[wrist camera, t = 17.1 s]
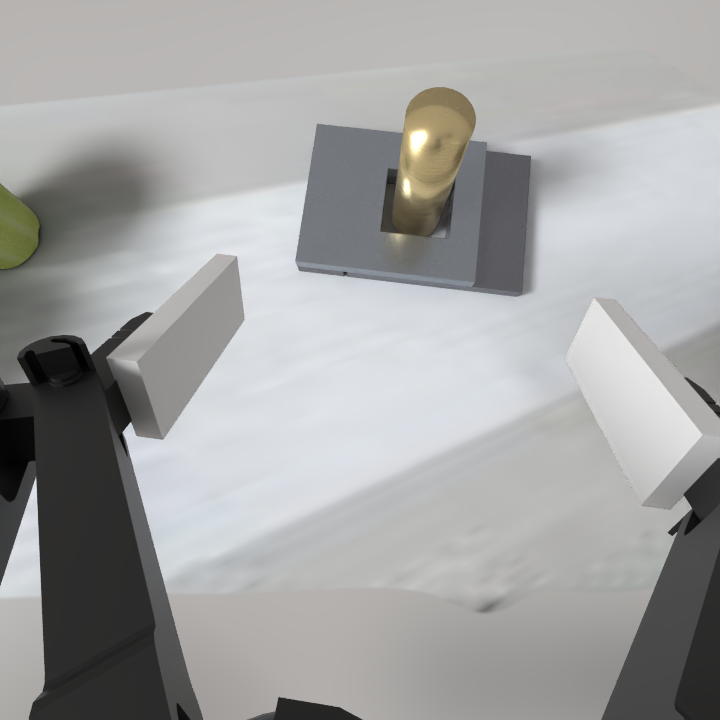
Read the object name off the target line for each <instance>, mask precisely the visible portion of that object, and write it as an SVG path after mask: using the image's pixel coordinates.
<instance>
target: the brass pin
mask: <svg viewBox="0 0 720 720" xmlns="http://www.w3.org/2000/svg"><path fill="white" fill-rule="evenodd" d="M475 123H476V116H475V111H474V108H473V106H472V104H471V103H470V102H469V100H468V99H467V98H466V97H465V96H464V95H462V94H461V93H459V92H457V91H455V90H453V89H449V88H444V87H436V88H430V89H427V90H425V91H422V92H421V93H419V94H418V95H416V96H415V97H414V98H413V99H412V101H411V102H410V103H409V105H408V108H407V110H406V116H405V123H404V130H403V137H402V144H401V152H400V159H399V166H398V173H397V181H396V188H395V195H394V202H393V209H392V222H393V225H394V227H395V228H396V230H397V231H398V232H399V233H400V234H406V235H414V236H423V237H426V236H428V235H430V234H431V233H432V232H433V231H434V230H435V229H436V227H437V225H438V222H439V220H440V217H441V214H442V212H443V209H444V207H445V204H446V201H447V199H448V196H449V194H450V191H451V188H452V186H453V183H454V180H455V178H456V175H457V173H458V170H459V167H460V165H461V162H462V159H463V157H464V154H465V152H466V149H467V146H468V144H469V141H470V139H471V136H472V133H473V131H474V128H475Z"/></svg>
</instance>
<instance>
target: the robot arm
mask: <svg viewBox="0 0 720 720" xmlns="http://www.w3.org/2000/svg"><path fill="white" fill-rule="evenodd" d="M244 320H245V319H244V311H243V302H242V294H241V286H240V277H239V269H238V260H237V256H231V255H222V254H216V255H215V256H214V257H213V258H212V259H211V260H210V261H209V262H208V263H207V264H206V265H205V266H204V267H203V268H201V269H200V270H199V271H198V272H197V273H196V274H195V275H194V276H193V277H192V278H191V279H190V280H189V281H188V282H186V283H185V284H184V285H183V286H182V287H181V288H180V289H179V290H178V291H177V292H176V293H175V294H174V295H173V296H172V297H170V298H169V299H168V300H167V301H166V302H165V303H164V304H163V305H162V306H161V307H160V308H159V309H158V310H157V311H155V312H154V313H150V312H145V313H143V314H141V315H139V316H137V317H135V318H133V319H131V320H130V321H128V322H127V323H126V324H125V325H124V326H123V327H122V328H121V329H120V331H117V332H116V333H115V334H114V335H113V336H112V338H111V339H110V338H109V339H108V340H107V341H106V342H105V343H104V344H102V345H101V346H100V347H99V348H98V349H97V350H96V351H94V352H93V353H92V354H91V355H90V354H89V351H88V349H87V346H86V344H85V342H84V341H83V340H82V338H79V337H76V336H71V335H60V336H52V337H48V338H45V339H41V340H38V341H36V342H34V343H32V344H30V345H28V346H26V347H25V348H24V349H23V350H22V351H21V352H20V353H19V355H18V357H17V360H18V361H19V363H20V365H21V367H22V369H23V370H24V372H25V374H26V376H27V377H28V379H29V381H30V383H22V384H11V385H4V383H3V382H2V380H1V378H0V585H1V582H2V579H3V576H4V573H5V569H6V566H7V563H8V560H9V557H10V554H11V551H12V548H13V545H14V542H15V539H16V536H17V533H18V530H19V527H20V524H21V520H22V517H23V514H24V511H25V508H26V505H27V502H28V499H29V496H30V493H31V490H32V487H33V484H34V481H35V478H36V479H37V503H38V526H39V549H40V572H41V595H42V618H43V641H44V664H45V684H44V688H43V692H42V693H41V694H40V695H39V697H38V698H37V699H36V700H35V701H34V702H33V705H32V709H31V712H30V716H29V720H203V717H202V714H201V711H200V708H199V704H198V701H197V699H196V696H195V693H194V691H193V688H192V685H191V682H190V679H189V675H188V672H187V668H186V664H185V660H184V657H183V653H182V649H181V645H180V642H179V638H178V634H177V631H176V627H175V623H174V619H173V616H172V612H171V608H170V604H169V600H168V597H167V593H166V589H165V585H164V582H163V578H162V574H161V570H160V567H159V563H158V559H157V555H156V552H155V548H154V544H153V540H152V537H151V533H150V529H149V525H148V522H147V518H146V514H145V510H144V507H143V503H142V499H141V495H140V492H139V488H138V484H137V480H136V477H135V473H134V469H133V465H132V462H131V458H130V454H129V450H128V447H127V443H126V439H125V437H124V435H123V431H124V430H125V428H126V427H127V426H128V425H129V423H130V422H131V423H132V425H133V428H134V430H135V433H136V435H137V436H140V437H147V438H154V439H162V440H163V439H164V438H165V436H166V435H167V433H168V432H169V430H170V429H171V427H172V426H173V424H174V423H175V421H176V420H177V418H178V417H179V416H180V414H181V413H182V411H183V410H184V408H185V407H186V405H187V404H188V402H189V401H190V399H191V398H192V396H193V395H194V393H195V392H196V390H197V389H198V387H199V386H200V385H201V383H202V382H203V380H204V379H205V377H206V376H207V374H208V373H209V371H210V370H211V368H212V367H213V365H214V364H215V362H216V361H217V359H218V358H219V357H220V355H221V354H222V352H223V351H224V349H225V348H226V346H227V345H228V343H229V342H230V340H231V339H232V337H233V336H234V334H235V333H236V331H237V330H238V328H239V327H240V326H241V324H242V323H243V321H244ZM565 361H566V363H567V365H568V367H569V369H570V371H571V372H572V374H573V376H574V378H575V380H576V382H577V384H578V386H579V388H580V390H581V392H582V394H583V395H584V397H585V399H586V401H587V403H588V405H589V407H590V409H591V411H592V413H593V415H594V417H595V419H596V420H597V422H598V424H599V426H600V428H601V430H602V432H603V434H604V436H605V438H606V440H607V442H608V443H609V445H610V447H611V449H612V451H613V453H614V455H615V457H616V459H617V461H618V463H619V465H620V466H621V468H622V470H623V472H624V474H625V476H626V478H627V480H628V482H629V484H630V486H631V488H632V490H633V491H634V493H635V495H636V497H637V499H638V501H639V503H640V505H641V506H648V507H655V508H662V509H669V510H671V508H672V507H673V506H674V505H675V504H676V503H677V502H678V501H679V500H680V499H681V498H682V497H683V496H685V498H686V499H687V501H688V502H689V504H690V505H691V507H692V509H691V510H690V511H689V512H688V513H687V514H686V515H685V516H684V517H683V518H682V519H681V520H680V521H679V522H678V523H677V524H676V525H675V526H674V527H673V528H672V529H671V530H670V531H669V532H668V533H669V534H670V535H672V536H673V535H674V534H675V533H676V532H677V535H676V537H675V540H674V542H673V545H672V547H671V549H670V552H669V554H668V557H667V559H666V562H665V564H664V567H663V569H662V572H661V574H660V577H659V579H658V581H657V584H656V586H655V589H654V592H653V594H652V596H651V599H650V601H649V604H648V606H647V609H646V611H645V613H644V616H643V618H642V621H641V623H640V626H639V629H638V631H637V633H636V636H635V638H634V641H633V643H632V645H631V648H630V650H629V653H628V655H627V658H626V660H625V663H624V665H623V668H622V670H621V673H620V675H619V678H618V680H617V682H616V685H615V688H614V690H613V692H612V695H611V697H610V700H609V702H608V705H607V707H606V710H605V712H604V714H603V717H602V720H720V407H719V405H716V404H715V403H716V402H715V401H714V400H713V399H712V398H711V397H710V396H709V394H708V393H707V392H706V391H705V390H704V389H702V388H701V387H700V386H698V385H697V384H695V383H694V382H692V381H691V380H690V379H688V378H686V377H683V376H682V375H681V374H680V373H679V372H678V370H677V369H676V368H675V367H674V366H673V365H672V364H671V363H670V361H669V360H668V359H667V358H666V357H665V356H664V355H663V353H662V352H661V351H660V350H659V349H658V348H657V347H656V345H655V344H654V343H653V342H652V341H651V340H650V339H649V337H648V336H647V335H646V334H645V333H644V332H643V331H642V329H641V328H640V327H639V326H638V325H637V324H636V323H635V321H634V320H633V319H632V318H631V317H630V316H629V315H628V313H627V312H626V311H625V310H624V309H623V308H622V307H621V306H620V304H619V303H618V302H617V301H616V300H610V299H602V298H594V299H593V301H592V303H591V305H590V307H589V309H588V311H587V313H586V315H585V317H584V319H583V322H582V324H581V326H580V328H579V330H578V332H577V334H576V336H575V338H574V340H573V342H572V344H571V346H570V348H569V351H568V353H567V355H566V357H565ZM248 720H362V719H360V718H358V717H357V716H354V715H353V714H351V713H349V712H347V711H345V710H343V709H342V708H340V707H334V706H328V705H322V704H316V703H310V702H304V701H298V700H291V699H286V698H280V697H279V698H278V702H277V707H276V712H271V713H266V714H262V715H259V716H257V717H254V718H251V719H248Z"/></svg>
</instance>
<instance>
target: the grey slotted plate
mask: <svg viewBox="0 0 720 720" xmlns="http://www.w3.org/2000/svg"><path fill="white" fill-rule="evenodd" d="M402 137H403V133H395V132H386V131H377V130H368V129H359V128H350V127H341V126H332V125H323V124H317V128H316V135H315V141H314V147H313V153H312V160H311V166H310V172H309V179H308V185H307V191H306V198H305V204H304V210H303V216H302V223H301V229H300V235H299V242H298V248H297V254H296V264H297V266H298V269H299V271H305V272H314V273H322V274H331V275H339V276H344V272H351V273H360V274H368V275H376V276H385V277H393V278H402V279H410V280H419V281H427V282H436V283H444V284H452V285H461V286H469V287H472V285H473V284H474V283H475V276H476V264H477V253H478V241H479V229H480V217H481V206H482V194H483V182H484V171H485V159H486V147H487V142H477V141H469V144H468V146H467V149H466V152H465V154H464V157H463V159H462V162H461V165H460V167H459V170H458V173H457V175H456V178H455V180H454V183H453V188H452V199H451V209H450V219H449V229H448V239H440V238H432V237H423V236H414V235H406V234H397V233H389V232H380V229H381V221H382V213H383V205H384V197H385V189H386V181H387V176H394V177H397V173H398V166H399V159H400V152H401V144H402Z"/></svg>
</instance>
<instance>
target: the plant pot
mask: <svg viewBox="0 0 720 720" xmlns="http://www.w3.org/2000/svg"><path fill="white" fill-rule="evenodd" d="M39 227H40V223H39V220H38V218H37V217H36V215H35V214H34V213H33V211H32V210H31V209H29V208H28V207H27V206H26V205H25V204H24V203H22V202H21V201H20V200H19V199H18V198H17V197H15V196H14V195H13V194H12V193H11V192H9V191H8V190H7V189H6V188H5V187H4V186H2V185H1V184H0V269H9V268H13V267H16V266H18V265H20V264H22V263H23V262H24V261H26V260H27V259H28V258H29V257H30V256H31V255H32V254H33V253H34V251H35V249H36V248H37V246H38V243H39V239H38V232H39Z"/></svg>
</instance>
